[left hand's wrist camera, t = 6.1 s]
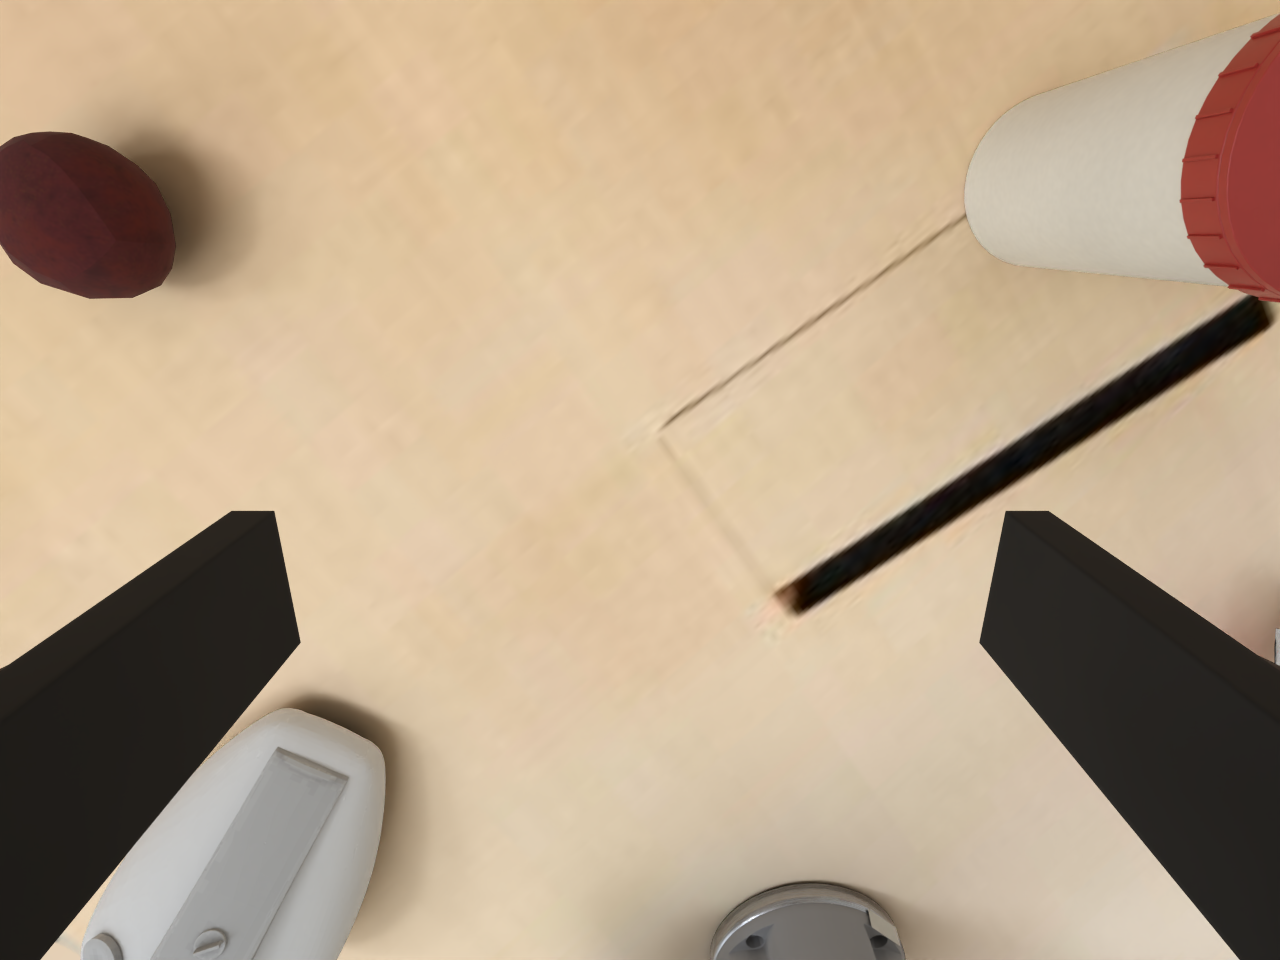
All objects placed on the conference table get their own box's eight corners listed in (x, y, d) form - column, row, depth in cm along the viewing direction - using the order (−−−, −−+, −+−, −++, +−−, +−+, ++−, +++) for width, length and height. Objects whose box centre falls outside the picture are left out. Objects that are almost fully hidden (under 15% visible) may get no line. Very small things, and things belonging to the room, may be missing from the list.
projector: (477, 903, 54) (422, 1135, 40) (218, 964, 56) (82, 1202, 42) (354, 678, 46) (234, 867, 33) (63, 759, 49) (-164, 966, 35)
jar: (1016, 299, 38) (1295, 352, 22) (932, 174, 36) (1173, 129, 20) (1157, 189, 36) (1578, 157, 20) (1077, 50, 34) (1476, -113, 18)
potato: (126, 111, 35) (5, 83, 28) (237, 245, 37) (149, 249, 30) (30, 198, 36) (-107, 191, 29) (143, 322, 38) (38, 342, 32)
